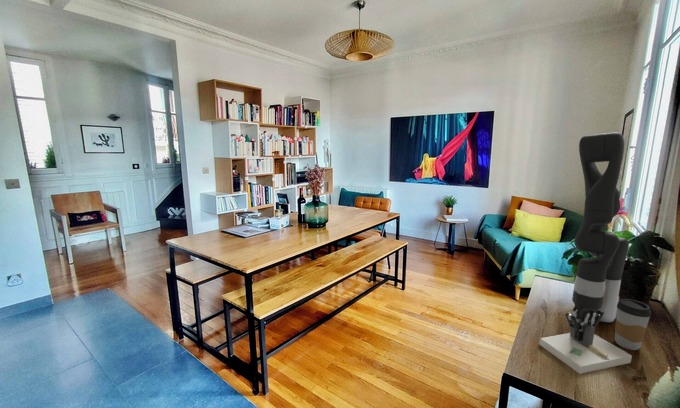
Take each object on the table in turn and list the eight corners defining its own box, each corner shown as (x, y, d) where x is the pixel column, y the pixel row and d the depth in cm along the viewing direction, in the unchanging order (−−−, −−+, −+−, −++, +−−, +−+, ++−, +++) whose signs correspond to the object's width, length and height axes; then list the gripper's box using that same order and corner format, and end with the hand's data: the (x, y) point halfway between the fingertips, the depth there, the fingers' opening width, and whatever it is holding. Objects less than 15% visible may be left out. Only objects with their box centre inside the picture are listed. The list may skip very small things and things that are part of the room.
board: (585, 336, 108) (586, 329, 108) (630, 362, 95) (632, 355, 94) (539, 344, 104) (540, 337, 103) (579, 373, 90) (581, 365, 90)
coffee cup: (635, 339, 106) (642, 300, 103) (650, 354, 98) (658, 312, 96) (606, 335, 109) (612, 296, 106) (618, 349, 101) (625, 308, 98)
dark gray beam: (574, 335, 104) (576, 317, 103) (608, 357, 93) (612, 336, 92) (569, 336, 104) (572, 317, 102) (604, 358, 93) (608, 337, 92)
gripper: (593, 283, 103) (585, 329, 106) (560, 288, 100) (553, 335, 103) (617, 293, 96) (609, 343, 99) (583, 298, 93) (575, 349, 96)
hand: (580, 339), depth 101 cm, fingers closed on dark gray beam, 2 cm apart
